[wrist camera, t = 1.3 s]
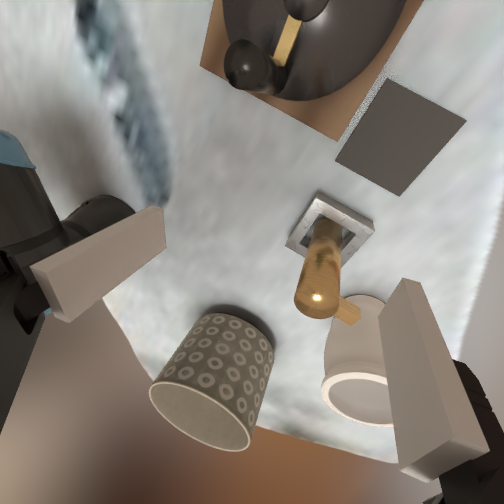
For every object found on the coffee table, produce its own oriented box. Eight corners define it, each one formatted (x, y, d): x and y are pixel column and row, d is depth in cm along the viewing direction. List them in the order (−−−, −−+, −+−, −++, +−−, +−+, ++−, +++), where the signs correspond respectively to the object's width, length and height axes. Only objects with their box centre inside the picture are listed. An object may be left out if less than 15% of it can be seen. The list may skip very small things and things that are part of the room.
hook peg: (308, 233, 36) (286, 304, 23) (323, 212, 33) (308, 277, 21) (344, 253, 36) (342, 337, 23) (362, 233, 33) (371, 314, 20)
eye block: (289, 236, 37) (284, 245, 35) (318, 190, 32) (316, 197, 30) (335, 263, 37) (334, 274, 34) (372, 221, 32) (374, 231, 29)
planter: (226, 288, 48) (173, 368, 33) (296, 346, 49) (274, 446, 35) (188, 325, 59) (135, 397, 44) (245, 371, 61) (213, 455, 46)
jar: (368, 277, 36) (378, 363, 24) (412, 320, 37) (442, 422, 25) (315, 306, 42) (303, 385, 30) (354, 342, 44) (357, 432, 32)
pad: (335, 160, 30) (335, 161, 29) (386, 78, 24) (387, 78, 24) (398, 195, 29) (399, 196, 29) (465, 120, 24) (467, 120, 24)
